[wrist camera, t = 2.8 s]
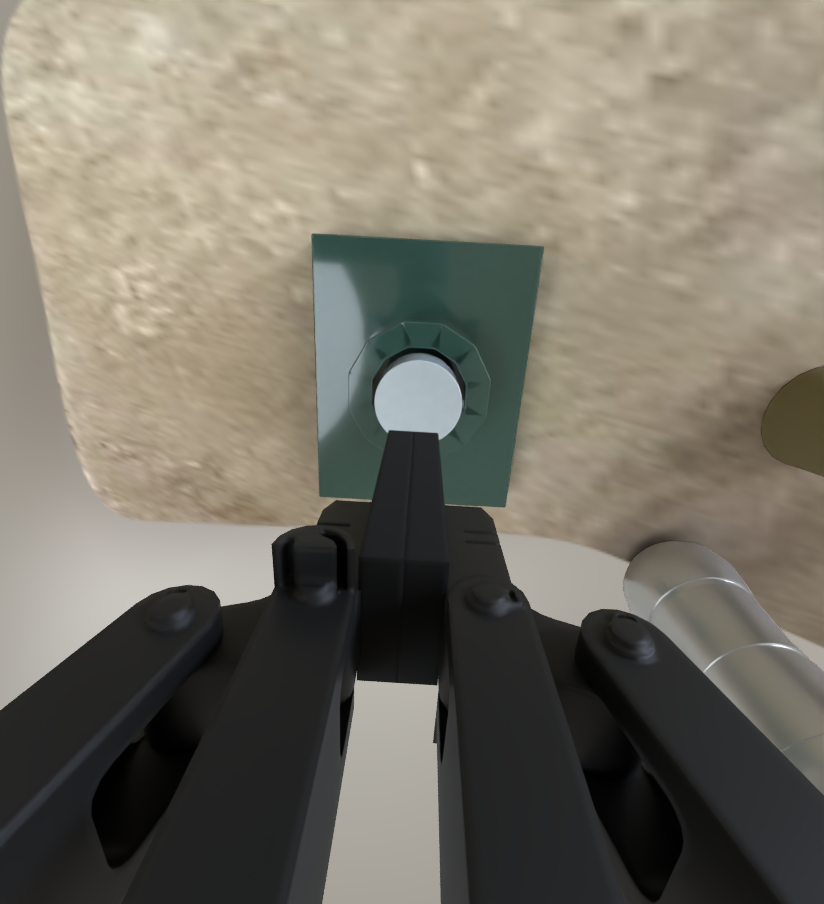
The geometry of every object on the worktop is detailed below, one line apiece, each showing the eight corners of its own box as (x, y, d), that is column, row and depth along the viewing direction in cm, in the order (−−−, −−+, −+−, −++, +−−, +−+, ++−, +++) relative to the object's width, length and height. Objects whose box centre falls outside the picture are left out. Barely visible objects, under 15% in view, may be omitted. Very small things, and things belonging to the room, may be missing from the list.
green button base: (320, 236, 23) (299, 229, 19) (534, 248, 23) (556, 243, 19) (326, 482, 28) (311, 514, 24) (500, 492, 28) (511, 525, 24)
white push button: (379, 350, 21) (375, 357, 19) (462, 355, 21) (466, 362, 19) (377, 428, 23) (373, 443, 21) (455, 433, 23) (458, 448, 21)
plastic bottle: (679, 618, 31) (1054, 1126, 13) (593, 590, 30) (855, 1083, 12) (734, 546, 29) (1293, 1037, 10) (642, 513, 28) (1064, 978, 10)
